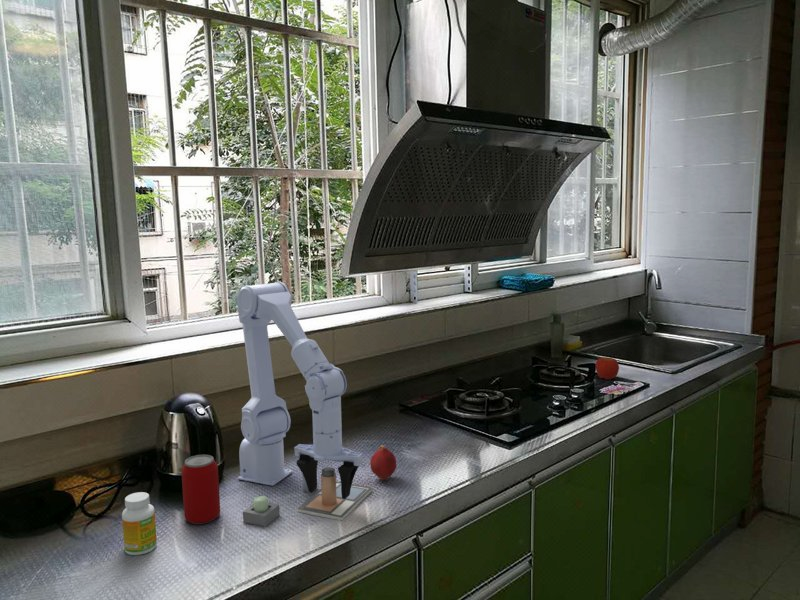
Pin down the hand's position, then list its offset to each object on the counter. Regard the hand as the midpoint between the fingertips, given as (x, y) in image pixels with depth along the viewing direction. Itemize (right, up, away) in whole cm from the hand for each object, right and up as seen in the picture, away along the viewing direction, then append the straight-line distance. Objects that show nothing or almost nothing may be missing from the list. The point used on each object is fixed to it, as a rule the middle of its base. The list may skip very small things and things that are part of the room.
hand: (329, 493), depth 128 cm
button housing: (-13, -3, -5) cm, 14 cm away
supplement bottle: (-32, -5, -15) cm, 36 cm away
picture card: (+1, -2, +2) cm, 4 cm away
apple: (+87, +12, +93) cm, 127 cm away
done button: (-13, -3, -5) cm, 14 cm away
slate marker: (-5, -2, +8) cm, 10 cm away
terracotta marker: (0, -2, 0) cm, 2 cm away
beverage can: (-24, -4, -4) cm, 25 cm away
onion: (+11, -1, +12) cm, 16 cm away
